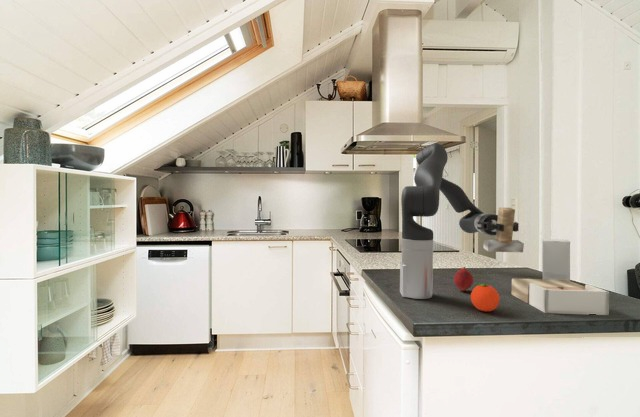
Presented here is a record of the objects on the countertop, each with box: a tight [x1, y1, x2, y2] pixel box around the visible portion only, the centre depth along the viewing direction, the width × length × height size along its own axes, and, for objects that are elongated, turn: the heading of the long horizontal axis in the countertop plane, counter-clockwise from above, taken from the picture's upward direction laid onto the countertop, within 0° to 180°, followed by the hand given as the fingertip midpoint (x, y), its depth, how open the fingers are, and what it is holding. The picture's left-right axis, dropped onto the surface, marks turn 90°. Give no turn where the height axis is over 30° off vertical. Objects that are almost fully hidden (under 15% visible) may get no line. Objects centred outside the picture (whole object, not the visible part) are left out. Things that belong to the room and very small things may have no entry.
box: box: [528, 283, 610, 316], centre depth 95 cm, size 16×8×6 cm, turn 85°
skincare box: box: [541, 238, 571, 281], centre depth 126 cm, size 8×7×16 cm
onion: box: [453, 265, 474, 292], centre depth 113 cm, size 6×6×8 cm
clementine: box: [470, 283, 501, 312], centre depth 93 cm, size 8×7×7 cm
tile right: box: [563, 287, 588, 291], centre depth 97 cm, size 4×4×3 cm
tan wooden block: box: [511, 277, 585, 305], centre depth 104 cm, size 16×10×5 cm, turn 85°
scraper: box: [482, 207, 525, 253], centre depth 115 cm, size 11×4×14 cm, turn 85°
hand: (509, 228), depth 112 cm, fingers closed on scraper, 3 cm apart
